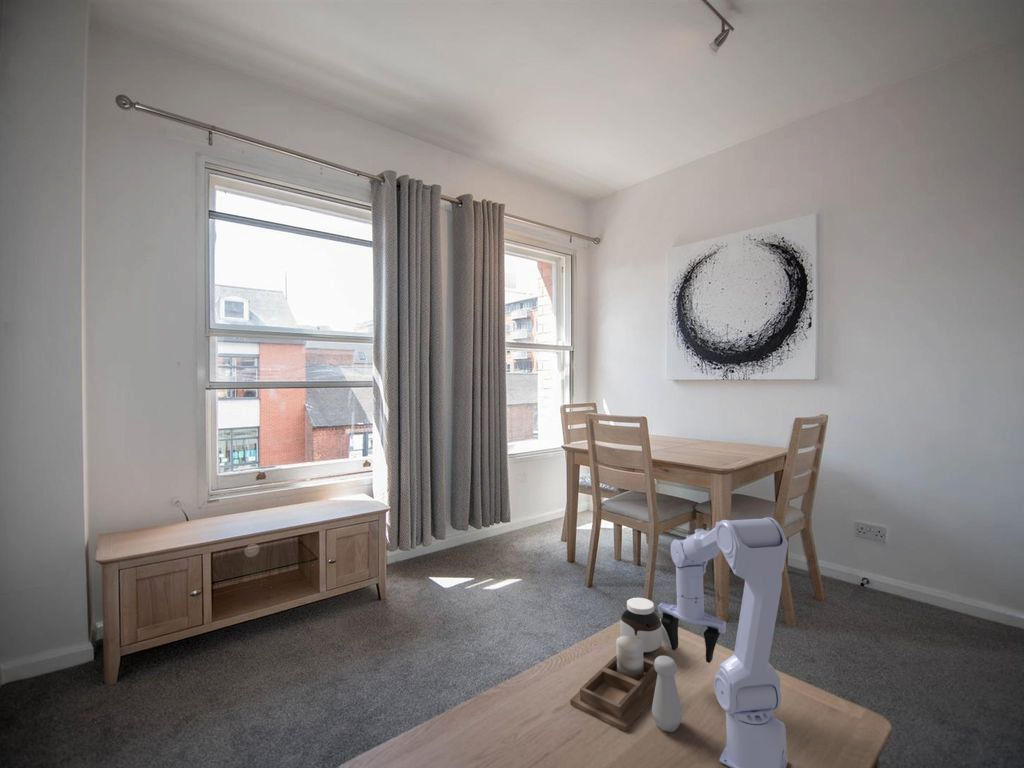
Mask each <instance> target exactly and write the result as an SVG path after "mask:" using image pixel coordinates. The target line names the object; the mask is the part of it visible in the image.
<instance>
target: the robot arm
mask: <svg viewBox="0 0 1024 768" xmlns="http://www.w3.org/2000/svg"><path fill="white" fill-rule="evenodd" d="M788 548H789V541H788V540H787V537H786V535H785V533H784V530H783V528H782V526H781V525H780V523H779V522H778V521H777V520H776V519H774V518H773V517H770V516H769V517H763V518H748V519H733V520H731V519H730V520H729V519H722V520H720V521H716V522H715V527H714V528H712V529H711V530H707V529H706V530H705V529H704V528H696V529H694V533H693V534H688V535H686V538H684V539H673V540H672V541H671V543H670V556H671V560H672V563H674V565H675V580H676V581H675V582H676V605H675V604H671V603H669V604H668V603H665V602H664V603H663V602H660V603H659V604H658V606H657V613H658V614H657V615H661V616H662V617H660V619H661V623H662V625H663V626H664V628H665V630H666V632H667V634H668V637H669V640H670V644H671V648H670V649H671V650H672V651H673V652H675V651H676V650H677V649H678V648H679V621H683V622H685V623H689V624H695V625H698V626H701V627H705V628H706V629H705V631H704V632H703V638H704V645H705V661H706V663H708V664H710V663H711V662H712V661H713V656H714V651H715V647H716V645H717V643H718V639H719V637H720V635H721V634H725V633H726V631H727V621H725V620H723V619H720V618H717V617H715V616H714V615H711V614H709V613H707V612H705V595H704V594H705V592H704V575H705V574H706V572H707V571H706V569H707V568H706V567H707V565H708V561H710V560H711V559H714V558H716V557H717V556H718V555H719V554H720V551H721V552H722V554H723V556H724V558H725V561H726V562H727V564H728V565H729V567H730V569H731V570H732V573H733V574H734V576H737V577H739V578H741V579H743V580H744V586H743V592H742V599H741V606H740V613H739V618H738V619H739V620H738V625H737V632H736V638H735V639H736V640H735V645H734V652H733V655H731V656H729V657H728V658H727V659H725V660H724V661H723V662H721V663H720V665H719V670H718V672H717V673H716V674H715V676H714V680H713V686H714V687H713V688H714V693H715V697H716V699H717V701H718V703H719V706H720V707H721V708H722V709H723V711H725V722H726V723H725V725H726V726H725V727H726V745H725V747H724V749H723V751H722V752H721V754H720V757H719V762H720V763H721V764H723V765H725V766H727V767H728V768H787V766H788V762H789V760H788V757H787V755H788V753H787V752H788V750H787V729H786V724H785V722H783V721H781V720H780V719H778V718H777V717H775V710H778V709H779V708H780V707H781V704H782V693H781V686H780V685H781V678H780V676H779V674H778V673H777V671H776V669H775V668H774V667H773V665H772V664H771V663H770V656H771V650H772V644H773V639H774V633H775V628H776V621H777V616H778V611H779V603H780V598H781V593H782V592H781V591H782V589H783V588H782V587H783V576H782V575H783V574H782V573H783V572H784V570H785V565H786V558H787V553H788Z"/></svg>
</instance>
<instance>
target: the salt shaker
mask: <svg viewBox="0 0 1024 768" xmlns="http://www.w3.org/2000/svg"><path fill="white" fill-rule="evenodd" d="M653 663H654V666H655V671H656V672H657V673H658V675H657V681H656V687H655V693H654V698H653V699H652V704H651V705H652V706H651V712H652V713H651V714H652V717H653V720H654V722H655V724H656V726H657V727H658V728H659V729H661V731H663V732H669V733H674V732H675V731H676V730H677V729H678V728H679V727H680V725H681V722H682V720H683V714H682V713H683V712H682V709H681V704H680V699H679V694H678V687H677V685H676V679H675V675H676V674H677V670H678V667H677V666H678V665H677V662H676V661H675V660H674V659H673V658H672V657H670V656H669V655H668V656H667V655H659V656H657V657H656V658H655V659H654V662H653Z"/></svg>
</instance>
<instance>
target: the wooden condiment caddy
mask: <svg viewBox="0 0 1024 768" xmlns="http://www.w3.org/2000/svg"><path fill="white" fill-rule="evenodd" d="M615 641H616V642H615V643H616V645H615V646H616V648H615V649H616V655H615V656H613V658H611V660H609V661H608V662H607V663H605V665H604V666H603V667H602V668H601V669H600V670H598V672H597V673H595V674H594V675H593V676H592V677H591V678H590V679H589V680H588V681H586V683H584V685H582V686H581V687H580V688H579V691H578V692H576V694H575V695H574V696H573V697H572V698H570V699H569V700H570V705H571V706H573V707H575V708H577V709H579V710H580V711H583V712H585V713H587V714H589V715H591V716H593V717H595V718H596V719H599V720H601V721H603V722H605V723H607V724H608V725H611V726H612V727H615V728H617V729H619V730H621V731H623V732H625V733H627V731H628V730H629V729H630V727H632V725H633V724H634V722H636V720H637V719H638V717H640V716H641V714H643V711H645V709H646V708H647V707H648V706H649V705H650V703H651V702H653V698H654V693H655V687H656V681H657V675H658V673H657V672H656V671H655V666H654V662H653V661H650V660H648V659H644V656H643V642H642V641H641V640H640V639H639V638H637V637H634V636H621V635H620V636H619V637H617V639H616V640H615Z"/></svg>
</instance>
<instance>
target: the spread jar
mask: <svg viewBox="0 0 1024 768" xmlns="http://www.w3.org/2000/svg"><path fill="white" fill-rule="evenodd" d="M619 626H620V637H621V636H634V637H637V638H639V639H640V640H641V641H642V642H643V657H644V656H651V655H653V654H655V653H656V652H657V651H658V650H659V649H660V648H661V646H662V643H663V644H664V646H666V647H667V648H669V649H672V648H671V644H670V640H669V637H668V634H667V632H666V630H665V628H664V626H663V625H662V623H661V617H659V614H657V612H655V605H654V602H653V601H652V600H651V599H648V598H644V597H632V598H630V599H628V600H626V609H625V610H623V612H622V613H621V615H620V625H619Z"/></svg>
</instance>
